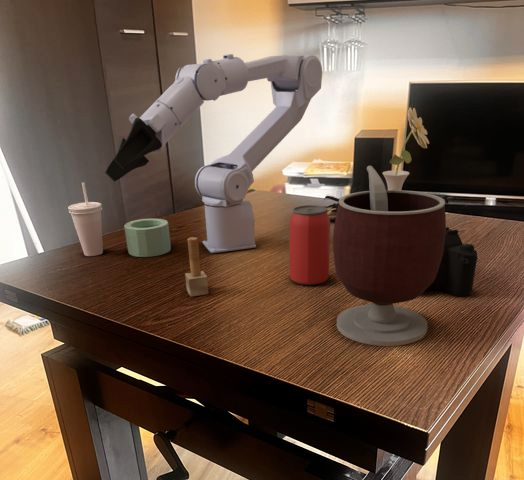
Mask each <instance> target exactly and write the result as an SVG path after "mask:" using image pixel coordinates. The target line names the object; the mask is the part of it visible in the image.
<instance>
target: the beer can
mask: <svg viewBox="0 0 524 480" xmlns="http://www.w3.org/2000/svg"><path fill="white" fill-rule="evenodd" d="M323 206H324V205H316V204H305V205H298V206H295V207H294V208H292V214H291V216H290V217H289V278H290V280H292V282H294V283H295V284H297V285H302V286H316V285H321V284H323V283H325V282H327V281H328V279H329V277H330V250H331V249H330V248H331V247H330V245H331V243H330V242H331V222H330V221H331V220H330V219H331V218H330V216H328V213H327V208H326V207H327V206H326V207H323Z"/></svg>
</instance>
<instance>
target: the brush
mask: <svg viewBox="0 0 524 480" xmlns="http://www.w3.org/2000/svg"><path fill="white" fill-rule="evenodd" d="M199 248H200V247H199V239H198V237H195V236H191V237H188V238H187V250H188V259H189V269H190V272H186V273H184V275H185V287H186V292H187V294H188V295H189V297H191V298H192V297H197V296H204V295H209V293H210V292H209V282H208V275H207V274H206V273H205V272H204V271H203V270H201V259H200V249H199Z"/></svg>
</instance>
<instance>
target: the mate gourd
mask: <svg viewBox="0 0 524 480" xmlns="http://www.w3.org/2000/svg"><path fill="white" fill-rule="evenodd" d="M366 171H367V173H368V184H369V185H368V187H369V188H368V189H369V190H365V191H358V192H353V193H349V194H346V195H343V196H341V197H339V198H340V199H339V206H338V209H337V213H336V216H335V219H334V220H335V222H334V225H333V235H332V237H333V239H332V240H333V241H332V254H333V261H334V268H335V272H336V276H337V278H338V280H339V281H340V283H341V284H342V285H343V287H344V288H345V289H346V291H347V292H348V293H349V294H350V295H351V296H353V297H354V298H357V299H360V300H363V301H365V302H369V304H362V305H356V306H352V307H350V308H347V309H344V310H343V311H342V312H340V313H339V314H338V316H337V318H336V329H337V330H338V332H339V333H340V334H341V335H343V336H344V337H345V338H347V339H349V340H352V341H355V342H357V343H361V344H365V345H369V346H377V347H396V346H404V345H409V344H412V343H416V342H418V341H420V340H421V339H422V338H424V337H425V336H426V335H427V331H428V321H427V320H426V318H425V316H423V315H421V314H420V313H418V312H416V311H414V310H412V309H409V308H406V307H403V306H398V305H395V304H398V303H399V304H400V303H407V302H409V301H413V300H415V299H418V297H420V296H421V295H422V294H423V293H424V292H425V291H426V290H427V289H429V288H428V287H429V286H430V285H431V284H432V283H433V281H434V280H435V277H436V275H437V272H438V270H439V266H440V263H441V259H442V256H443V251H444V243H445V236H446V227H447V223H446V222H447V219H446V207H445V206H446V205H445V204H446V201H445V199H444V198H442V197H440V196H438V195H435V194H432V193H426V192H421V191H414V190H403V189H401V190H388V189H386V185H385V183H384V181H383V180H382V178H381V176H380V175H379V173H378V172H377V171H376V169H375V168H374V167H373V166H372V165H368V166H366ZM371 303H372V304H371Z"/></svg>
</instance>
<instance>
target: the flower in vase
mask: <svg viewBox="0 0 524 480" xmlns="http://www.w3.org/2000/svg"><path fill="white" fill-rule="evenodd" d="M407 119H408V120H407V121H408V123H409V127H410V129H411V130H410V132H409V133H408V135H407V137H406V139H405V140H404V143H403V144H402V147H401V150H400V154H399V156H398V155H397V154H395V153H394V154H393V156H392V158H391V159H390V160H389V164H390V165H393V166H396V169H395V170H386V171H383V172H382V175H383V177H384V178H385V182H386V186H387V190H403V189H402V188H403V185H404V183H405V181H406V180H407V178H408V176H409V175H410V172H409V171H406V170H399V168H400V165H401V164H402V163H403V162H405V163H406V164H410V163H411V162H412V156H411V153H410V152H409V151H408V150H406V149H405V147H406V145H407V143H408V141H409V139H410V137H411V136H412V135H413V137H414V139H415V140H416V142H417V144H418V145H419V146H420V147H421V148H423V149H428V145H429V144H430V141H429V139H428V137H427V135H428V131H427V129H426V128H425V126H424V125H423V119H422V117H418V114H417V110H416V108H415V107H413V109H412V107H411V106H410V107H409V108H408V109H407Z"/></svg>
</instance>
